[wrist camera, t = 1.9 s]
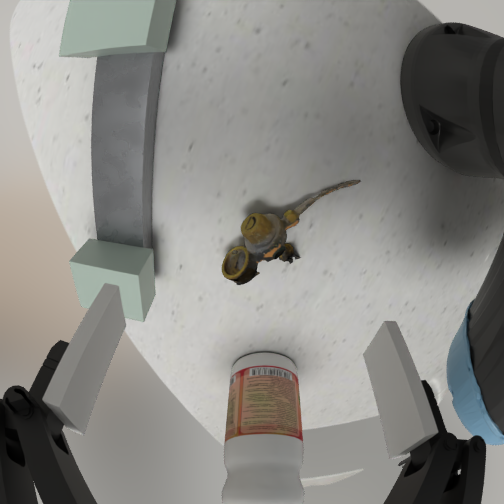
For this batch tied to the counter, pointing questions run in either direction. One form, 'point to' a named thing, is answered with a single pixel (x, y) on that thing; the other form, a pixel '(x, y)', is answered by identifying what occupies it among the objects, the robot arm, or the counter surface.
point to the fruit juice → (263, 432)
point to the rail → (124, 145)
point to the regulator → (266, 240)
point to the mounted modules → (102, 44)
